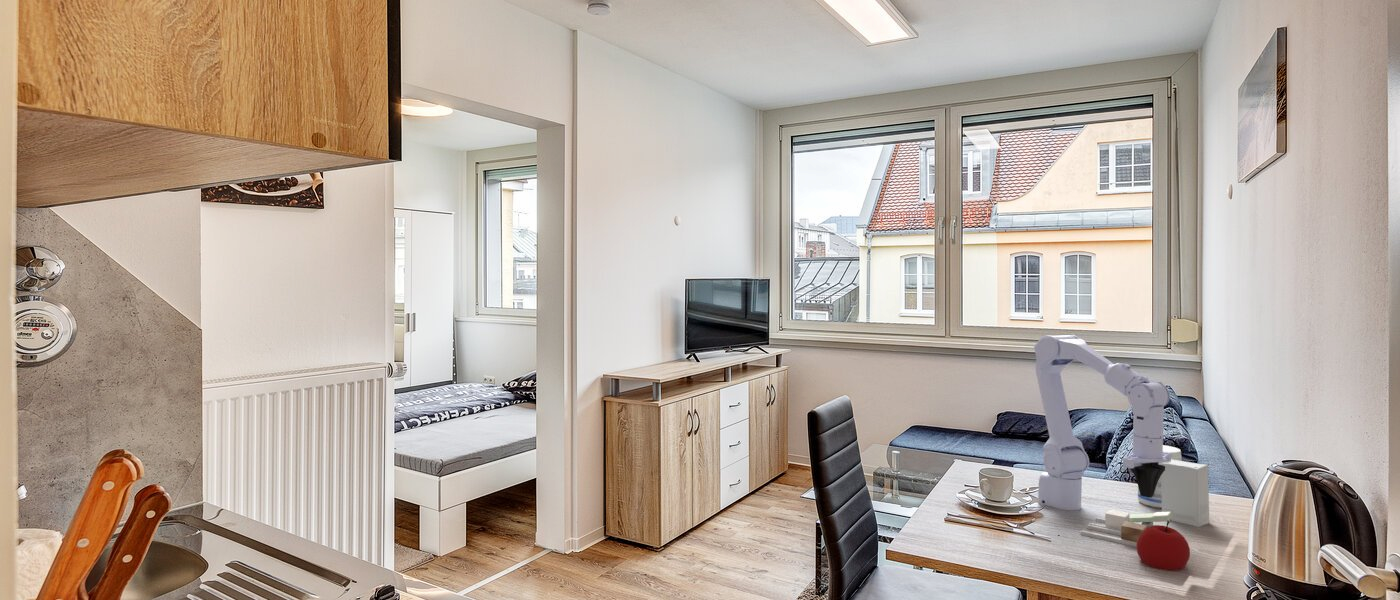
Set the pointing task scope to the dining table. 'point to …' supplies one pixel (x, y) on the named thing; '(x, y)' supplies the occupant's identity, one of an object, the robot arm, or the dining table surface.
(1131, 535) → the brown cube
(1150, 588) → the dining table surface
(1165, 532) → the apple
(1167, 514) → the sage rocker
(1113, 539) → the control board
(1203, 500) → the skincare box
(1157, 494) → the supplement tub
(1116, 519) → the white cube
